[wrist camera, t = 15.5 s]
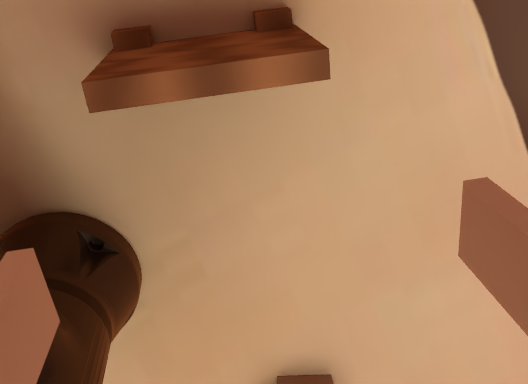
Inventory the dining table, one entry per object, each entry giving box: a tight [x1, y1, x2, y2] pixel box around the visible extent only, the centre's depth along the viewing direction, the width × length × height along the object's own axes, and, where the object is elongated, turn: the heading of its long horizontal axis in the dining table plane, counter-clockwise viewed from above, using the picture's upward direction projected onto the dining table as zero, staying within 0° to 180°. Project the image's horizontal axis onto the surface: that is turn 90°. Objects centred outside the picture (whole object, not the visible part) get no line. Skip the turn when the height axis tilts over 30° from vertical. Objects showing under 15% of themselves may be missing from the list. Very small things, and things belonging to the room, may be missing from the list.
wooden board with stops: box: [81, 7, 330, 113], centre depth 39 cm, size 16×5×13 cm, turn 96°
